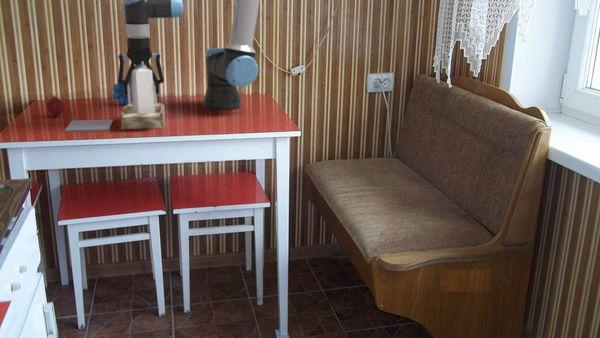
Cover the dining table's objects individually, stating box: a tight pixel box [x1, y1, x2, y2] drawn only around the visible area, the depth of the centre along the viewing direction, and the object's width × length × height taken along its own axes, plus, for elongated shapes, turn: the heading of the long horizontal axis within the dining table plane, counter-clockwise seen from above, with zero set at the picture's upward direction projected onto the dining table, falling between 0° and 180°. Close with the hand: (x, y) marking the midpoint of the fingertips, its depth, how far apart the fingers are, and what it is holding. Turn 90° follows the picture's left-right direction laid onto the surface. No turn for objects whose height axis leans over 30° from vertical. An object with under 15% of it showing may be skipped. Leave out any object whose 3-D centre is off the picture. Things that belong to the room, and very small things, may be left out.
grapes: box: [112, 77, 130, 106], centre depth 241 cm, size 12×7×12 cm, turn 97°
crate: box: [120, 102, 166, 130], centre depth 213 cm, size 14×22×5 cm, turn 10°
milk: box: [130, 61, 155, 114], centre depth 210 cm, size 6×6×22 cm
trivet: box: [64, 119, 114, 133], centre depth 208 cm, size 14×14×1 cm
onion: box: [46, 94, 65, 118], centre depth 221 cm, size 6×6×8 cm
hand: (142, 103), depth 211 cm, fingers closed on milk, 8 cm apart
